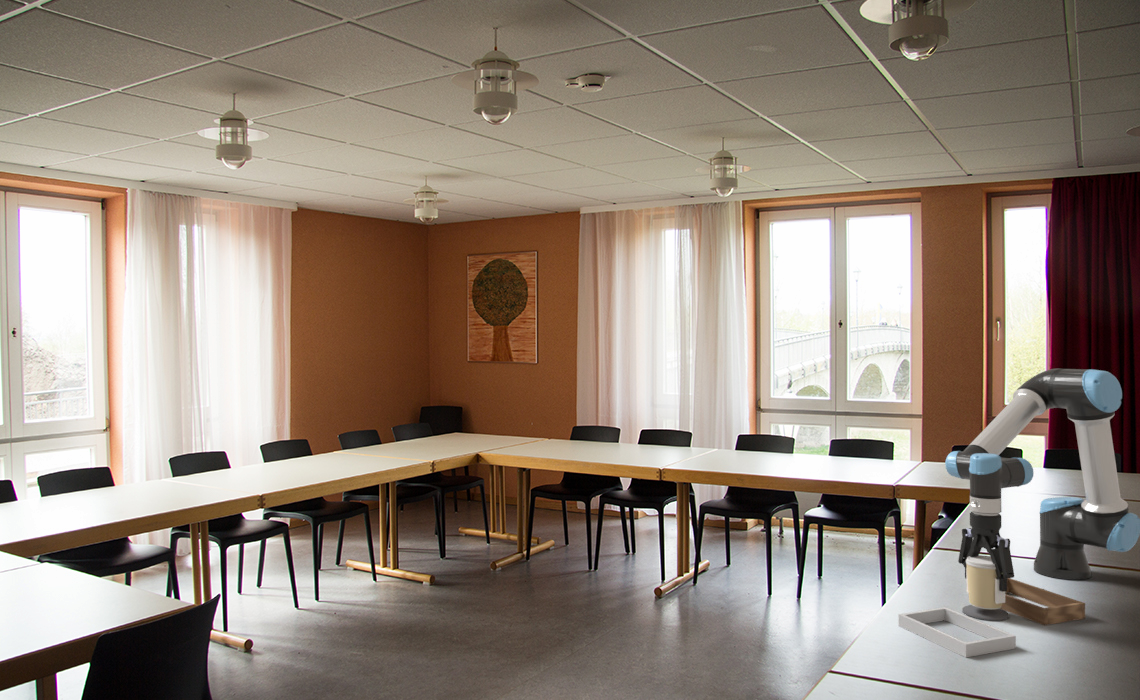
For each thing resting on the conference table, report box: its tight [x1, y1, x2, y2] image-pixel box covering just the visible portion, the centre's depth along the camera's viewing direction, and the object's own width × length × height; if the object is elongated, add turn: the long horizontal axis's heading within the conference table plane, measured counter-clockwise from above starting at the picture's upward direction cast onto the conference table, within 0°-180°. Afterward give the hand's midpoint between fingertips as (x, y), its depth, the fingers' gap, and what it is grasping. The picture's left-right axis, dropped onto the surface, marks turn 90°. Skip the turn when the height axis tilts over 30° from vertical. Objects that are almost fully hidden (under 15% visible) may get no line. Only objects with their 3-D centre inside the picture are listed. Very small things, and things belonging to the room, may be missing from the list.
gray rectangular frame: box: [898, 606, 1017, 658], centre depth 205 cm, size 15×22×3 cm
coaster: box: [962, 604, 1010, 622], centre depth 221 cm, size 11×11×1 cm
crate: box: [1000, 578, 1086, 626], centre depth 225 cm, size 14×24×4 cm, turn 19°
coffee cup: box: [966, 554, 1003, 609], centre depth 221 cm, size 9×9×12 cm
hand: (985, 597), depth 221 cm, fingers closed on coffee cup, 9 cm apart
